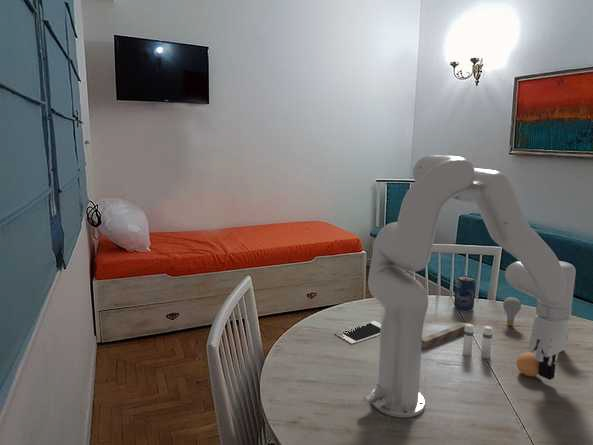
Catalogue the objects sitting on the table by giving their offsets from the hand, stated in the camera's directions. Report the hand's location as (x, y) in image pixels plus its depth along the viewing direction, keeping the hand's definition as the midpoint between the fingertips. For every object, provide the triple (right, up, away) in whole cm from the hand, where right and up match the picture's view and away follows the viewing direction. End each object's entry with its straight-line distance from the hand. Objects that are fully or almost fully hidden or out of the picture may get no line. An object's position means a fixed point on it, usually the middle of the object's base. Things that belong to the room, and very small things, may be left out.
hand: (546, 376), depth 113 cm
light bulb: (+8, +5, +35) cm, 36 cm away
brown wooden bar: (-18, +3, +25) cm, 31 cm away
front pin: (-10, +1, +14) cm, 17 cm away
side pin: (-15, +1, +15) cm, 21 cm away
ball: (-3, +2, +4) cm, 5 cm away
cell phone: (-43, +3, +30) cm, 52 cm away
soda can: (-2, +8, +50) cm, 50 cm away
